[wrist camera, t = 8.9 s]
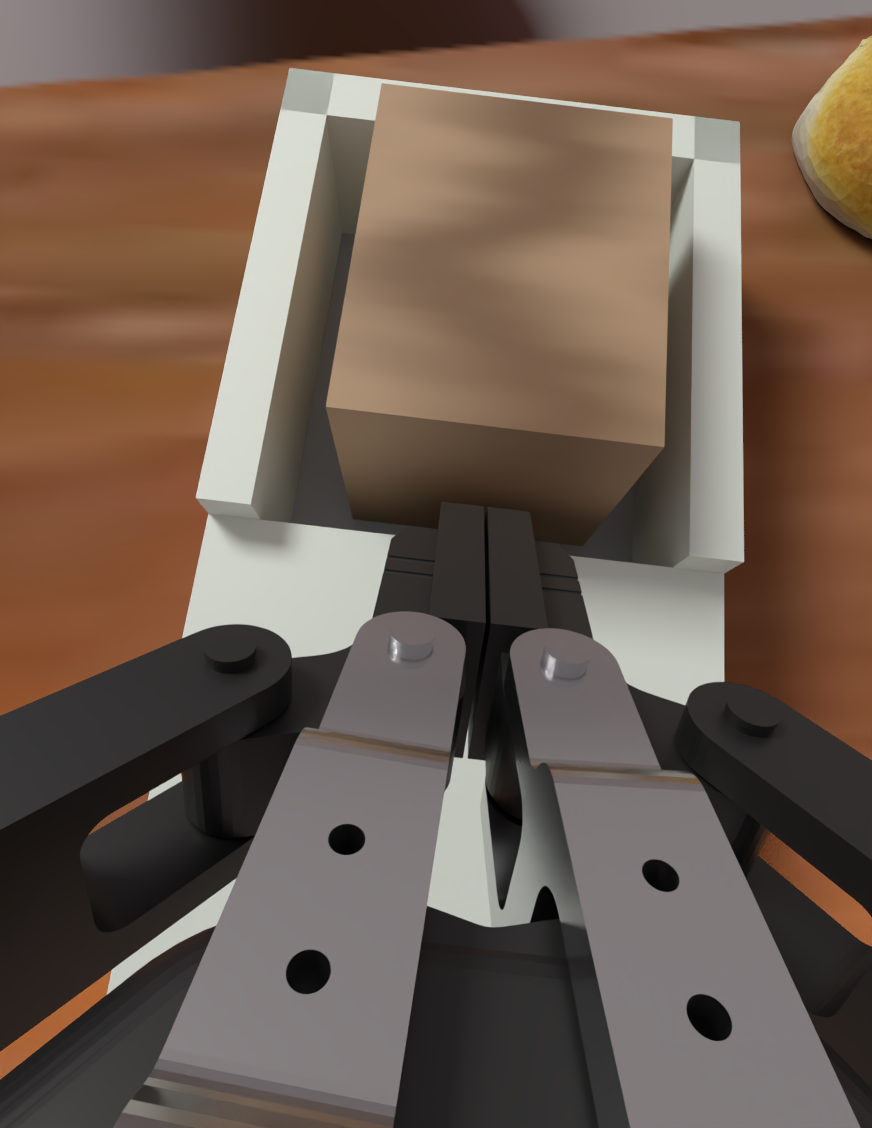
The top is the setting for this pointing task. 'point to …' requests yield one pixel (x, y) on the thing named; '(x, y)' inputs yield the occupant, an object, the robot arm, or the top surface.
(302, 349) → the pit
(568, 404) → the block
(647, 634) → the ledge
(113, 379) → the top surface
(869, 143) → the bread roll
